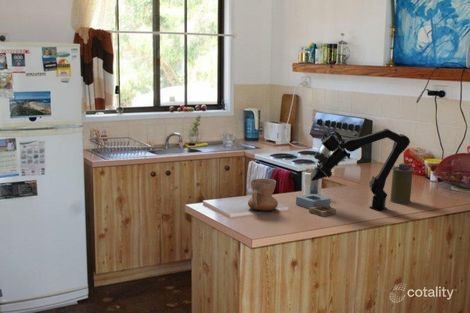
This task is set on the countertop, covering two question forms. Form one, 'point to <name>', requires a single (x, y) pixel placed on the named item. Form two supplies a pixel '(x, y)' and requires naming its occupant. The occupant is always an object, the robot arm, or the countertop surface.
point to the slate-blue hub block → (312, 200)
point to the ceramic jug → (263, 194)
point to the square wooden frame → (324, 209)
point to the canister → (401, 184)
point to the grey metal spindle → (314, 183)
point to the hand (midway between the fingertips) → (311, 179)
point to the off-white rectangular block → (307, 184)
